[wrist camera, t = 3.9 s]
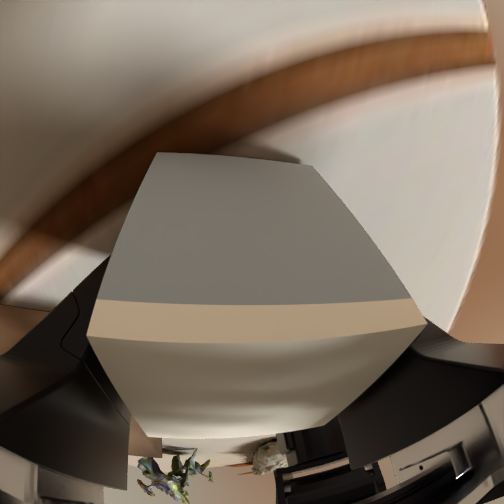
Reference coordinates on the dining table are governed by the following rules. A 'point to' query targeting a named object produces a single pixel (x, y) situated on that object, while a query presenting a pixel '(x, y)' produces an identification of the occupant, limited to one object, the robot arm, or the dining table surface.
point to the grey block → (244, 301)
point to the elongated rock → (268, 459)
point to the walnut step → (19, 324)
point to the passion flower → (171, 476)
